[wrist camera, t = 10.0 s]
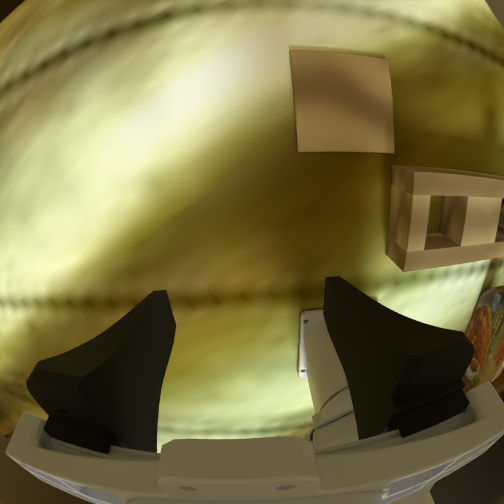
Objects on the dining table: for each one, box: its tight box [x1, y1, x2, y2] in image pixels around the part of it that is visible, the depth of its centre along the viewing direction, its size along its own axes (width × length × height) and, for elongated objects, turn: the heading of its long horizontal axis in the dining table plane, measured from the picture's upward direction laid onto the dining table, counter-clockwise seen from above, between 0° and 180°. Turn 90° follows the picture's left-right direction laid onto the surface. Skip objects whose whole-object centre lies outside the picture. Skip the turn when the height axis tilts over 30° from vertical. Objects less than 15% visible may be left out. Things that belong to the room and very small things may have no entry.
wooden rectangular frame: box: [386, 165, 504, 272], centre depth 20 cm, size 8×18×4 cm, turn 94°
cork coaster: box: [290, 50, 394, 153], centre depth 18 cm, size 8×8×1 cm
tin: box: [463, 286, 504, 388], centre depth 24 cm, size 15×3×8 cm, turn 5°
